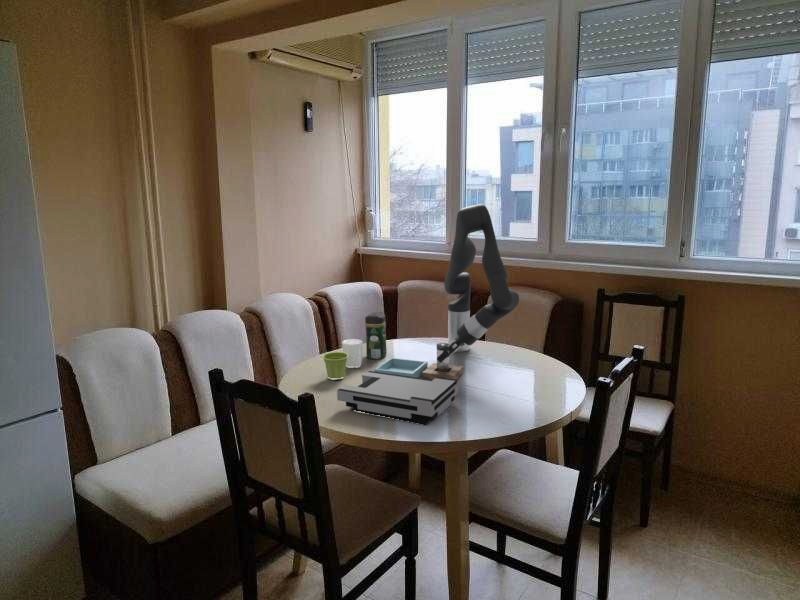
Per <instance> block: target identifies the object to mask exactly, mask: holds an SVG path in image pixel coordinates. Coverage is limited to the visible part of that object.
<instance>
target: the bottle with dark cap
mask: <svg viewBox="0 0 800 600" xmlns="http://www.w3.org/2000/svg"><path fill="white" fill-rule="evenodd" d="M448 345H449V344H448V342H447V343H446V342H438V343H436V358H437V357H439V356H440V355H441V354H442V353H443V351H444V350H446V349H447V346H448ZM447 352H448V353H449V350H447ZM436 363H437V371H439V372H449V365H450V356H449V357H447V358H446V359H444V360H443V361H442V362H441V363H440V362H439V361H438V360H437V359H436Z"/></svg>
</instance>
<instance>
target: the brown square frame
mask: <svg viewBox="0 0 800 600" xmlns="http://www.w3.org/2000/svg"><path fill="white" fill-rule="evenodd" d="M463 374H464V366H463V365H455V364H454V365H453V364H449V372H439V371H437V362H436V363H435V362H433V363H431V364H430V365H429V366H428V368H427V369H426V370H424V371H423V372H422V377H421V378H424V379H431V380H434V379H435V378H436V377H442V378H449V379H456V380H457V381H458V379H459V378H460V377H461V376H462V375H463Z"/></svg>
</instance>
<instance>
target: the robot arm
mask: <svg viewBox="0 0 800 600" xmlns="http://www.w3.org/2000/svg"><path fill="white" fill-rule="evenodd" d="M488 209H489V208H488V207H487V206H486V205H485V204H483V203H479V204H473V205H470V206H467V207H462V208H461V209H459V210H458V211H457V214H456V219H455V220H456V221H455V232H454V233H455V235H454V240H453V245H452V248H451V253H450V260H449V266H448V269H447V271H446V274H445V278H444V283H443V284H444V287H443V288H444V291H445V293H447V294H449V295H461V296H460V297H459V298H457V299H456V300H454V301H453V300H452V301H450V302H449V303H448V306H447V308H448V309H447V310H448V311H447V315H448V319H447V322H448V323H447V333H448V334H447V337H448V339H447V344H449V345H448V346H447V349H446V350H444V351H443V353H442V354H441V355H440V356H439V357H437V356H436V361H437V360H438V361H439V362H440V363H441V362H442V361H443V360H444V359H446V358H447V357H449V358H450V355H451V354H455V353H456V352H467V351H469V350H470V348H471V347H470V346H472V345H474V343H475V342H477V341H478V340H479V339H480V338H481V337H483V336H484V334H486V332H487V331H488V330H489V329H490V328H491V327H492V326H494V325H495V324H496V323H497V322H498V321H499V320H501V319H503V318H504V317H505V316H507V315H508V314H509V313H512V311H514V309H516V308H517V306H518V304H520V295H519V294H518V292H517V291H515V290H513V289H510V288H509V286H508V283H507V281H508V279H509V276H508V273H507V270H506V268H505V266H504V262H503V260H502V257H501V254H500V251H499V248H498V243H497V238H496V234H495V230H494V226H493V221H492V217H491V215H490V212H489V210H488ZM479 231H482V232H483V236H484V247H483V252H482V255H481V256H482V257H481V265H482V268H483V271H484V274H485V278H486V279H487V281H488V287H489V293H490V298H491V303H489V304H485V305H484V306H482V307H481V308H480V309H479V310H478V311H477V312H476V313H474V314H473V315H472V316H471V290H472V289H471V288H472V278H471V277H472V276H471V274H470V273H469V272H466V271H467V270H468V269H469V268H470V267H471V266H472V265H473V263H474V261H475V257H476V254H477V248H476V245H475V243H474V241H472V240H471V239H470V237H469V235H470V234H472V233H475V232H479ZM447 350H449V353H448V352H447Z"/></svg>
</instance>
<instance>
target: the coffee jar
mask: <svg viewBox="0 0 800 600" xmlns="http://www.w3.org/2000/svg"><path fill="white" fill-rule="evenodd" d="M364 320H365V323H364V324H365V340H366V342H365V343H366V345H365V347H366V349H365V350H366V353H365V354H366V358H367V357H370V358H369V359H371V358H380V359H384V358H385V357H386V355H387V351H388V350H387V333H386V332H387V331H386V330H387V329H386V323H387V322H386V314H385V313H384V312H382V311H372V312H371V313H369V314H367V315H366V316H365V318H364ZM384 356H385V357H384Z"/></svg>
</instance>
